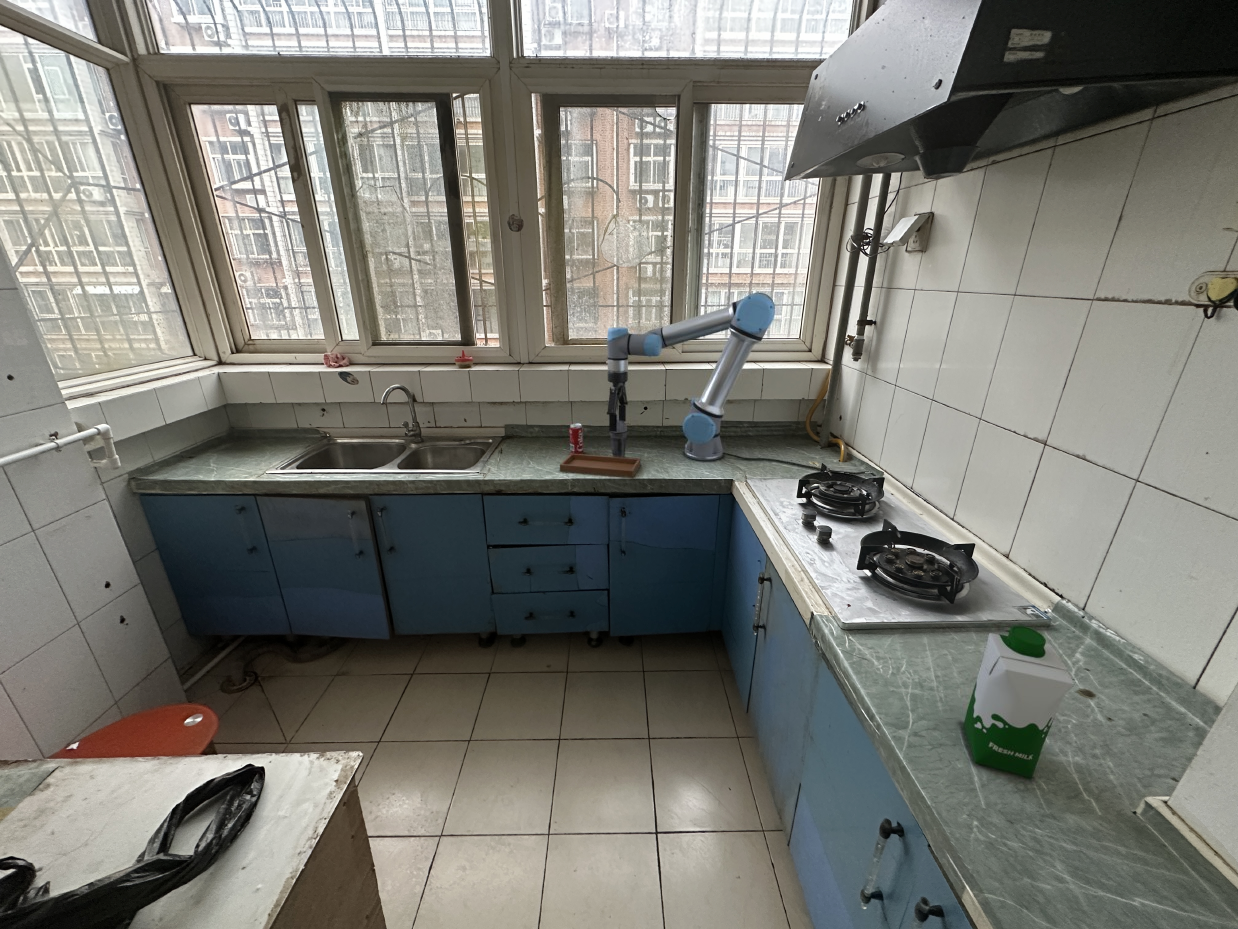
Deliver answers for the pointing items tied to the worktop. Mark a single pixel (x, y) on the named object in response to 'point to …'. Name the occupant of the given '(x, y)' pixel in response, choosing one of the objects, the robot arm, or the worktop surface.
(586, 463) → the tray
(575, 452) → the soda can
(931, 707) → the worktop surface
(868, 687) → the worktop surface
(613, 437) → the beverage cup
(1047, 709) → the milk carton
